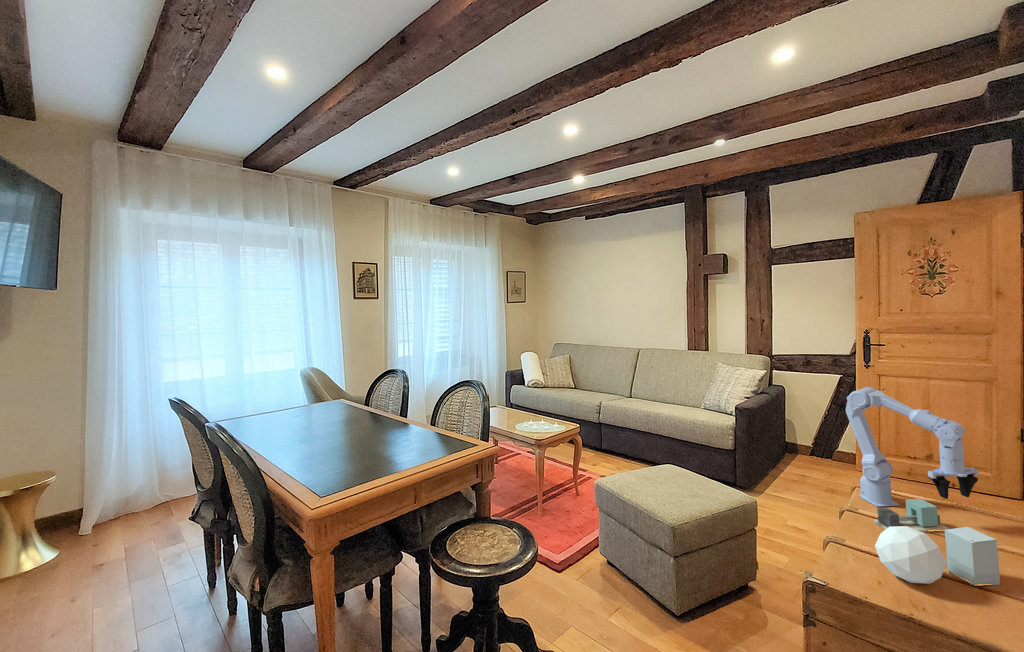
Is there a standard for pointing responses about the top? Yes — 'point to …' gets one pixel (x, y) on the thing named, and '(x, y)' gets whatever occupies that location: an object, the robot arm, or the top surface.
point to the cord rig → (903, 521)
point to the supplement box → (972, 556)
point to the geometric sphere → (910, 554)
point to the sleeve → (922, 512)
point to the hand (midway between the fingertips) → (954, 496)
